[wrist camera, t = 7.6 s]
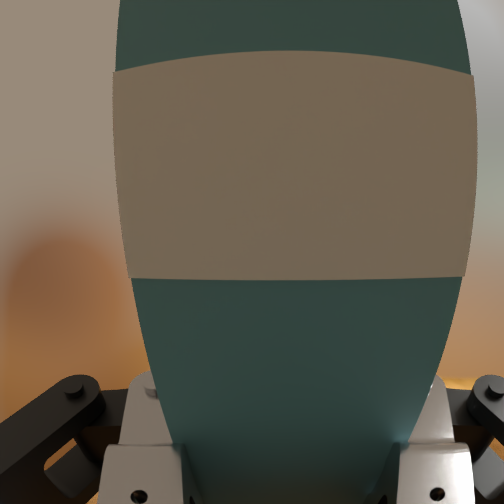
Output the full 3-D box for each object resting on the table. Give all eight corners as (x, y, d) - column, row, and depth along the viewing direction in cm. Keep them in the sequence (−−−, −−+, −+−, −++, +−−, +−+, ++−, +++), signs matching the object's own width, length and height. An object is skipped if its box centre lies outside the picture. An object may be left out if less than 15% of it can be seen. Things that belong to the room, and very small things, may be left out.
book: (315, 580, 8) (454, -15, 2) (232, 579, 9) (120, -18, 2) (313, 468, 16) (342, 88, 10) (247, 467, 16) (226, 89, 10)
